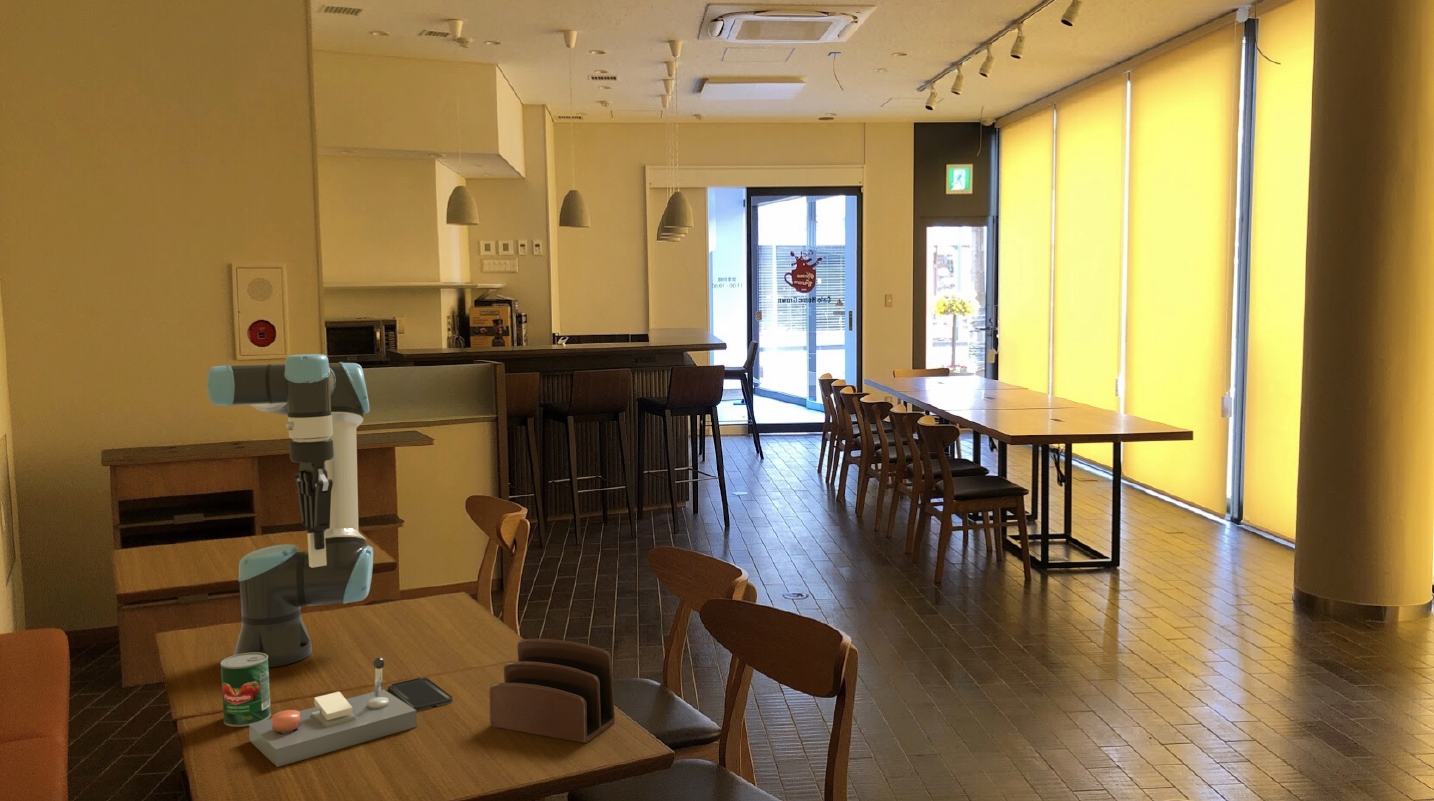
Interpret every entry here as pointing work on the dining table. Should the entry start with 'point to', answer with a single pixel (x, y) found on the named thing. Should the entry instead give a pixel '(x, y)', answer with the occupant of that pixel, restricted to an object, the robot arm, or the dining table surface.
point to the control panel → (334, 729)
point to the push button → (286, 721)
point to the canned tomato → (245, 689)
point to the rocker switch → (333, 705)
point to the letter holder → (555, 691)
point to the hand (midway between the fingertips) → (317, 565)
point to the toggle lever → (378, 675)
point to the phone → (420, 693)
